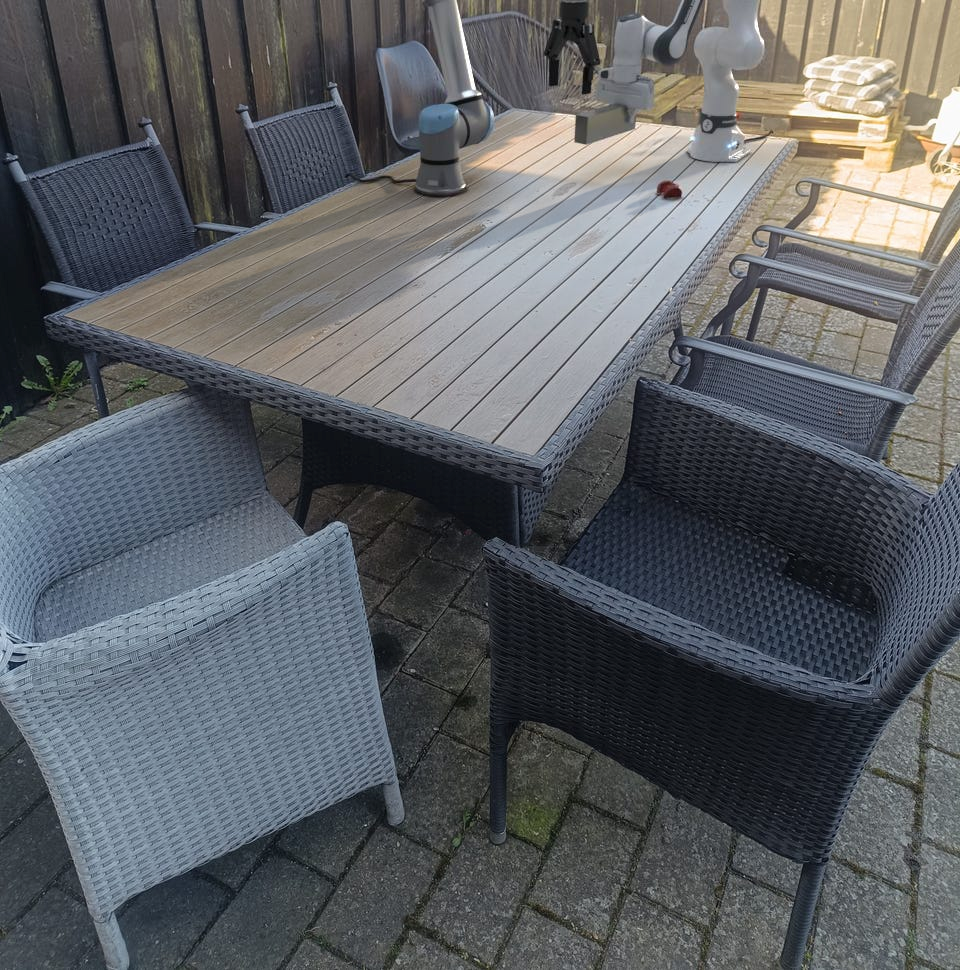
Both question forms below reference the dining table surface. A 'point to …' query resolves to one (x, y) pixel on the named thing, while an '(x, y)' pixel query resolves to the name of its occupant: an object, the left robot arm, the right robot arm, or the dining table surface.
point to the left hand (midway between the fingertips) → (569, 89)
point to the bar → (602, 123)
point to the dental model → (669, 189)
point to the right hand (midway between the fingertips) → (622, 121)
